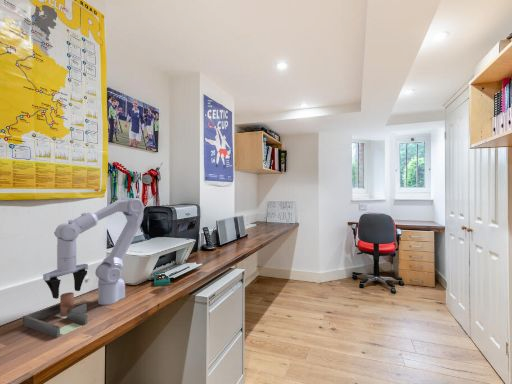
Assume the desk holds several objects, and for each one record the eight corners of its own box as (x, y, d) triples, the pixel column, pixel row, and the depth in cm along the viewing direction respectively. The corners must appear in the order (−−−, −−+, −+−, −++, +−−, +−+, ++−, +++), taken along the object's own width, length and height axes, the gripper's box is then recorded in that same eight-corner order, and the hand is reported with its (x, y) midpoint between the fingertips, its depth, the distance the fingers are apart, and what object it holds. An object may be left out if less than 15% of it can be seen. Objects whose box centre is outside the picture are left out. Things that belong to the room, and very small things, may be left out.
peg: (69, 310, 102) (69, 291, 102) (76, 312, 101) (76, 293, 101) (58, 314, 99) (57, 295, 99) (65, 317, 97) (64, 297, 97)
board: (71, 309, 106) (71, 306, 106) (110, 320, 97) (110, 317, 97) (22, 328, 91) (22, 325, 91) (62, 343, 83) (62, 340, 83)
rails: (70, 307, 105) (70, 299, 105) (102, 316, 98) (102, 308, 98) (23, 325, 91) (22, 316, 91) (57, 338, 84) (57, 328, 84)
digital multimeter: (153, 287, 130) (153, 281, 130) (153, 277, 144) (154, 272, 144) (170, 285, 133) (170, 279, 133) (168, 276, 147) (168, 270, 147)
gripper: (79, 251, 108) (79, 285, 108) (37, 260, 94) (37, 299, 95) (91, 253, 105) (91, 288, 105) (50, 262, 92) (50, 303, 92)
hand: (66, 294), depth 100 cm, fingers open, 7 cm apart
